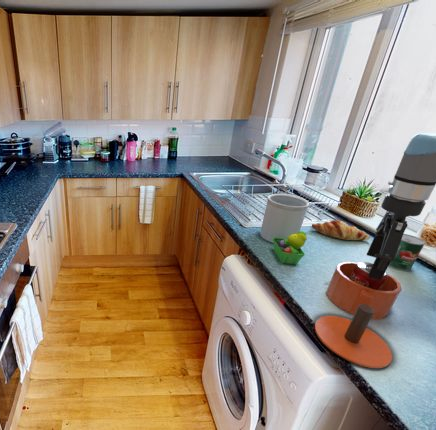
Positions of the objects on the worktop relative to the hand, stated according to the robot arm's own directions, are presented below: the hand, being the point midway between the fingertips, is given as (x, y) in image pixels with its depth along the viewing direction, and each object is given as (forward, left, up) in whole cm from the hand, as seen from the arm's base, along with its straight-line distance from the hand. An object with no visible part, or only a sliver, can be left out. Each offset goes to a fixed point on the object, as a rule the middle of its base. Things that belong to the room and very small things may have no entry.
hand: (373, 266), depth 81 cm
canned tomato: (-12, -35, -13) cm, 39 cm away
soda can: (0, +1, -13) cm, 13 cm away
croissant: (+6, -48, -13) cm, 50 cm away
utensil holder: (+27, -29, -13) cm, 42 cm away
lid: (+1, +20, -12) cm, 24 cm away
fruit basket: (+21, -14, -13) cm, 29 cm away
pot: (0, 0, -13) cm, 13 cm away
